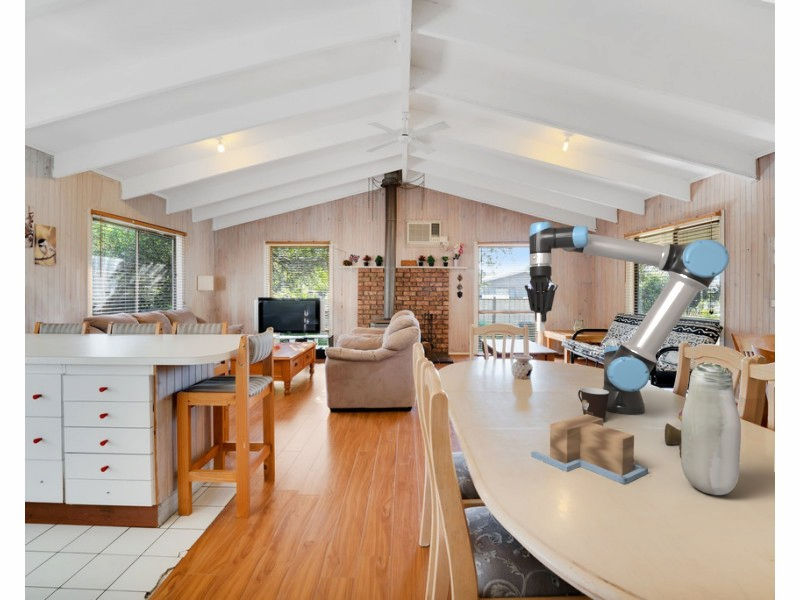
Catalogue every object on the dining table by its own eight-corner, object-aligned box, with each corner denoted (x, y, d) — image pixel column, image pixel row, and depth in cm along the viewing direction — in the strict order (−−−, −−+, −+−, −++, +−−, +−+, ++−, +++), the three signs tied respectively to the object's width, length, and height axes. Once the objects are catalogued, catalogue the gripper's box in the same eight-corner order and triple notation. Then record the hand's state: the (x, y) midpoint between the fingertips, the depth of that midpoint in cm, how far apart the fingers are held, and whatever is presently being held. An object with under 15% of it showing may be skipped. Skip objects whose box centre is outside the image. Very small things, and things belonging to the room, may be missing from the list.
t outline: (531, 456, 108) (531, 451, 108) (580, 439, 119) (580, 435, 119) (610, 491, 89) (610, 485, 89) (659, 467, 101) (659, 463, 101)
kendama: (668, 463, 105) (662, 436, 122) (715, 472, 100) (701, 443, 118) (670, 440, 105) (663, 416, 122) (716, 449, 100) (703, 422, 117)
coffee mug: (611, 425, 132) (612, 394, 131) (583, 423, 133) (584, 393, 133) (601, 414, 143) (602, 386, 143) (575, 412, 145) (576, 384, 144)
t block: (549, 458, 107) (550, 424, 106) (585, 445, 115) (586, 413, 115) (609, 483, 93) (609, 444, 93) (644, 466, 102) (645, 431, 101)
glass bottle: (749, 504, 84) (753, 370, 83) (695, 500, 86) (698, 368, 85) (720, 481, 94) (723, 361, 93) (671, 478, 95) (674, 360, 94)
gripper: (519, 266, 150) (519, 330, 151) (549, 264, 139) (549, 332, 140) (532, 267, 154) (533, 328, 155) (562, 264, 143) (563, 331, 144)
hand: (540, 330), depth 147 cm, fingers closed
